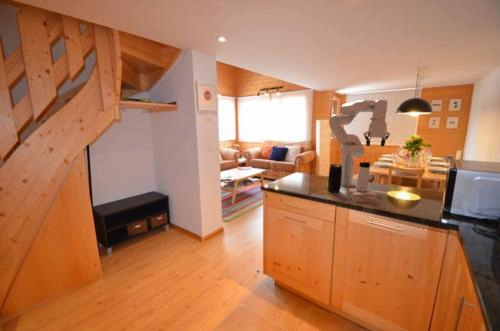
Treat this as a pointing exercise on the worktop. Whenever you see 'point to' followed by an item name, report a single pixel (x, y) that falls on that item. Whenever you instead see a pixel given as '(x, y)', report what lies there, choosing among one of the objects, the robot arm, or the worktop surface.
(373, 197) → the wood stand
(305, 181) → the worktop surface
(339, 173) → the portable speaker
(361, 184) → the travel mug
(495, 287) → the worktop surface
